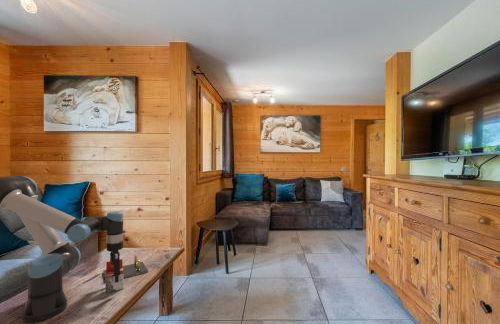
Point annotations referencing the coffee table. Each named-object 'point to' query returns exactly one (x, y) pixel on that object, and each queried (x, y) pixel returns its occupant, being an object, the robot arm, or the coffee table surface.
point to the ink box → (110, 279)
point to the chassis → (132, 269)
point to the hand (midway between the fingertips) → (114, 282)
